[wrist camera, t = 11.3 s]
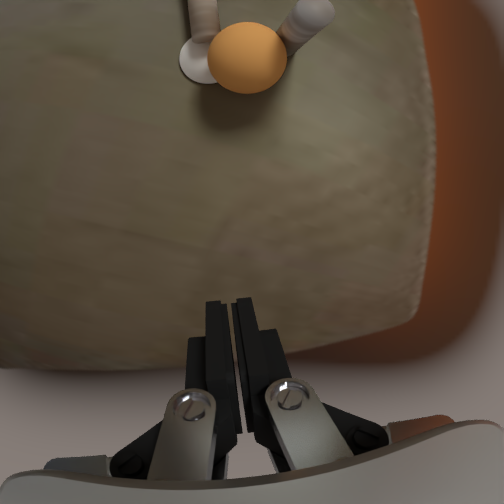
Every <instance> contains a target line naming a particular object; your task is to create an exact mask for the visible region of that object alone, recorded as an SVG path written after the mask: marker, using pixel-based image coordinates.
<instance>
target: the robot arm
mask: <svg viewBox="0 0 504 504" xmlns="http://www.w3.org/2000/svg"><path fill="white" fill-rule="evenodd" d="M236 300H237V303H231V306H232V315H233V324H234V333H235V342H236V351H237V359H238V367H239V374H240V382H241V389H242V396H243V404H244V410H245V417H246V424H247V431H248V433H250V432H254V436H255V440H256V442H257V443H259V444H261V445H262V446H264V447H266V448H267V450H268V454H269V456H270V459H271V461H272V464H273V466H274V468H275V471H276V474H270V475H263V476H255V477H246V478H236V479H227V471H228V460H229V456H228V452H229V451H230V450H231V449H232V448H233V447H234V446H236V445H237V434H241V433H243V432H242V426H241V417H240V410H239V401H238V393H237V386H236V377H235V369H234V360H233V352H232V344H231V336H230V328H229V320H228V312H227V304H221V301H209V302H206V336H204V337H192V338H189V339H188V349H187V364H186V381H185V390H182V391H180V392H178V393H176V394H175V395H174V396H173V397H172V398H171V399H170V400H169V402H168V404H167V408H166V411H165V414H164V419H163V420H162V421H161V422H159V423H158V424H156V425H155V426H154V427H153V428H151V429H150V430H148V431H147V432H146V433H144V434H143V435H141V436H140V437H139V438H137V439H136V440H134V441H133V442H132V443H130V444H129V445H127V446H126V447H124V448H123V449H122V450H120V451H119V452H117V453H116V454H115V455H114V456H113V457H107V456H106V455H98V456H86V457H69V458H56V459H52V460H50V461H49V462H47V463H46V465H45V466H44V469H43V470H30V471H24V472H20V473H17V474H14V475H12V476H10V477H8V478H7V479H6V480H5V481H4V482H3V484H2V485H1V487H0V504H504V428H502V427H501V426H500V425H498V424H497V423H495V422H492V421H489V420H466V421H460V422H454V420H453V419H451V418H450V417H449V416H446V415H433V416H428V417H422V418H417V419H411V420H405V421H397V422H390V423H388V424H387V426H380V425H378V424H376V423H374V422H371V421H368V420H366V419H363V418H360V417H358V416H355V415H352V414H350V413H347V412H344V411H342V410H339V409H337V408H335V407H332V406H330V405H327V404H325V403H322V402H321V401H320V399H319V398H318V396H317V394H316V393H315V391H314V389H313V388H312V387H311V386H310V385H309V384H308V383H307V382H305V381H303V380H300V379H296V378H292V377H291V373H290V371H289V367H288V365H287V361H286V358H285V355H284V351H283V348H282V345H281V342H280V339H279V336H278V332H277V330H276V329H269V330H261V331H259V329H258V325H257V321H256V316H255V312H254V308H253V304H252V299H251V297H248V298H239V299H236Z"/></svg>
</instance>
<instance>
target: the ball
mask: <svg viewBox="0 0 504 504" xmlns="http://www.w3.org/2000/svg"><path fill="white" fill-rule="evenodd" d="M207 62H208V67H209V70H210V72H211V74H212V76H213V77H214V79H215V80H216V81H217V82H218V83H219V84H220V85H221V86H223V87H224V88H226V89H228V90H230V91H233V92H236V93H242V94H252V93H257V92H261V91H264V90H266V89H268V88H270V87H271V86H272V85H274V84H275V83H276V82H277V81H278V80H279V79H280V77H281V76H282V74H283V72H284V70H285V68H286V63H287V52H286V48H285V45H284V43H283V41H282V40H281V38H280V37H279V36H278V35H277V34H276V33H275V32H274V31H273V30H271V29H270V28H268V27H266V26H264V25H261V24H258V23H253V22H242V23H237V24H233V25H230V26H228V27H226V28H225V29H223V30H222V31H220V32H219V33H218V34H217V35H216V36H215V38H214V39H213V40H212V42H211V44H210V46H209V49H208V54H207Z"/></svg>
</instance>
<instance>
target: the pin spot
mask: <svg viewBox="0 0 504 504" xmlns="http://www.w3.org/2000/svg"><path fill="white" fill-rule="evenodd" d="M210 44H211V42H206V43H193V42H192V38H190V39H189V40H188V41H187V42H186V43H185V44H184V46H183V47H182V49H181V52H180V57H179V61H180V66H181V68H182V70H183V72H184V73H185V75H186V76H187V77H189V78H190V79H192V80H193V81H196V82H199V83H204V84H211V83H217V81H216V80H215V79H214V77H213V76H212V74H211V72H210V70H209V67H208V62H207V54H208V49H209V46H210Z"/></svg>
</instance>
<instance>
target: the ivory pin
mask: <svg viewBox="0 0 504 504" xmlns="http://www.w3.org/2000/svg"><path fill="white" fill-rule="evenodd" d="M187 1H188V10H189V19H190V27H191V35H192V42H193V43H206V42H212V40H213V39H214V38H215V36H216V35H217V34H218V33H219V32H220V31H221V30H220V22H219V15H218V8H217V0H187Z"/></svg>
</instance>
